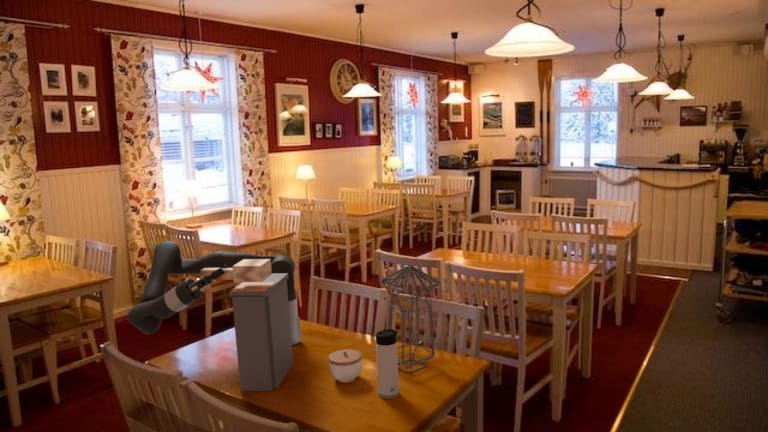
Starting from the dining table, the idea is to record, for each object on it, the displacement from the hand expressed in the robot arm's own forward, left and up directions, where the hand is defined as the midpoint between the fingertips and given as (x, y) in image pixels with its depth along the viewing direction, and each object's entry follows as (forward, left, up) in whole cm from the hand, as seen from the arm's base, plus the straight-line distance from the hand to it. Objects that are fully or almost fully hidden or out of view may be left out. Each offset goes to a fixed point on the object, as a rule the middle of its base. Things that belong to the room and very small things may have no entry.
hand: (224, 269), depth 182 cm
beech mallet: (-2, +2, -3) cm, 4 cm away
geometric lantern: (-52, +26, -38) cm, 70 cm away
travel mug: (-35, +38, -38) cm, 64 cm away
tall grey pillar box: (-10, +2, -38) cm, 39 cm away
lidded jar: (-30, +20, -38) cm, 53 cm away
